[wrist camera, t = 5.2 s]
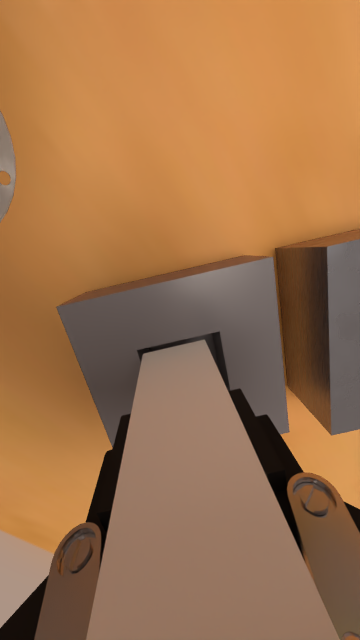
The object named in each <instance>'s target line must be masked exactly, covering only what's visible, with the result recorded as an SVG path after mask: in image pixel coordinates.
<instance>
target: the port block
mask: <svg viewBox="0 0 360 640" xmlns="http://www.w3.org/2000/svg"><path fill="white" fill-rule="evenodd" d="M276 259H277V270H278V281H279V293H280V304H281V315H282V326H283V338H284V349H285V360H286V371H287V383H288V387H289V388H290V390H291V391H292V392H293V393H294V394H295V395H296V396H297V397H298V399H299V400H300V401H301V402H302V403H303V404H304V405H305V406H306V408H307V409H308V410H309V411H310V412H311V413H312V414H313V415H314V417H315V418H316V419H317V420H318V421H319V422H320V423H321V424H322V425H323V427H324V428H325V429H326V430H327V431H328V432H329V433H330V434H331V435H336V434H340V433H345V432H349V431H354V430H358V429H360V229H357V230H352V231H348V232H344V233H339V234H335V235H331V236H326V237H322V238H318V239H314V240H309V241H305V242H301V243H296V244H292V245H288V246H283V247H279V248H276Z"/></svg>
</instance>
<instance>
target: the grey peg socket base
mask: <svg viewBox="0 0 360 640" xmlns="http://www.w3.org/2000/svg"><path fill="white" fill-rule="evenodd" d="M56 308H57V310H58V313H59V315H60V318H61V320H62V323H63V325H64V327H65V330H66V332H67V335H68V337H69V340H70V342H71V345H72V347H73V350H74V352H75V355H76V357H77V360H78V362H79V365H80V367H81V370H82V372H83V375H84V377H85V380H86V382H87V385H88V387H89V390H90V392H91V395H92V397H93V400H94V402H95V405H96V407H97V410H98V412H99V415H100V417H101V420H102V422H103V425H104V427H105V430H106V432H107V435H108V437H109V440H110V442H111V445H112V447H113V445H114V441H115V438H116V434H117V430H118V426H119V422H120V418H121V416H122V415H126V414H131V411H132V406H133V401H134V396H135V391H136V386H137V381H138V376H139V371H140V366H141V361H142V356H143V354H144V353H148V352H153V351H157V350H161V349H166V348H170V347H174V346H179V345H183V344H187V343H192V342H196V341H200V340H204V339H205V341H206V343H207V346H208V348H209V350H210V352H211V355H212V357H213V359H214V361H215V363H216V366H217V368H218V370H219V372H220V375H221V377H222V379H223V381H224V383H225V386H226V388H227V390H228V391H230V390H234V389H239V388H240V389H241V390H242V392H243V394H244V396H245V397H246V399H247V401H248V403H249V405H250V407H251V408H252V410H253V412H254V414H255V416H260V415H265V414H267V415H268V416H269V418H270V419H271V421H272V422H273V424H274V426H275V427H276V429H277V430H278V432H279V434H283V433H288V432H289V423H288V412H287V402H286V391H285V380H284V369H283V359H282V348H281V337H280V326H279V316H278V305H277V294H276V283H275V273H274V262H273V257H267V256H246V255H244V256H240V257H236V258H232V259H227V260H223V261H219V262H214V263H210V264H206V265H201V266H197V267H193V268H188V269H184V270H180V271H175V272H171V273H167V274H163V275H158V276H154V277H150V278H145V279H141V280H137V281H132V282H128V283H124V284H119V285H115V286H111V287H106V288H102V289H98V290H93V291H89V292H85V293H83V294H81V295H79V296H77V297H75V298H73V299H71V300H69V301H67V302H65V303H63V304H61V305H59V306H57V307H56Z"/></svg>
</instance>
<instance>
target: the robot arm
mask: <svg viewBox="0 0 360 640" xmlns="http://www.w3.org/2000/svg"><path fill="white" fill-rule="evenodd" d="M1 171H5V172H7V173H8V174H9V175H10V178H11V182H10V184H8V185H2V184H1V183H0V222H1V220H2V219H3V217H4V216H5V214H6V213H7V211H8V208H9V206H10V203H11V200H12V198H13V194H14V187H15V181H16V166H15V154H14V150H13V145H12V140H11V136H10V133H9V131H8V128H7V125H6V123H5V120H4V117H3V115H2V113H1V111H0V172H1ZM228 392H229V395H230V397H231V399H232V401H233V403H234V406H235V408H236V410H237V412H238V415H239V417H240V419H241V421H242V423H243V426H244V428H245V430H246V432H247V435H248V437H249V439H250V441H251V443H252V446H253V448H254V450H255V452H256V455H257V457H258V459H259V461H260V463H261V466H262V468H263V470H264V472H265V475H266V477H267V479H268V481H269V483H270V486H271V488H272V490H273V492H274V495H275V497H276V499H277V501H278V503H279V506H280V508H281V510H282V512H283V515H284V517H285V519H286V521H287V524H288V526H289V528H290V530H291V532H292V535H293V537H294V539H295V541H296V544H297V546H298V548H299V550H300V552H301V555H302V557H303V559H304V561H305V564H306V566H307V568H308V570H309V572H310V575H311V577H312V579H313V581H314V584H315V586H316V588H317V590H318V592H319V595H320V597H321V599H322V601H323V604H324V606H325V608H326V610H327V612H328V615H329V617H330V619H331V621H332V624H333V626H334V628H335V630H336V632H337V635H338V637H339V639H340V640H360V509H358V508H356V507H354V506H352V505H350V504H348V503H346V502H344V501H343V500H342V498H341V496H340V494H339V493H338V491H337V490H336V488H335V487H334V486H333V485H332V484H331V483H330V482H328V481H327V480H326V479H324V478H322V477H321V476H318V475H316V474H313V473H305V472H303V470H302V469H301V467H300V466H299V464H298V462H297V461H296V459H295V458H294V456H293V454H292V453H291V451H290V450H289V448H288V446H287V445H286V443H285V442H284V440H283V438H282V437H281V435H280V434H279V432H278V430H277V429H276V427H275V426H274V424H273V422H272V421H271V419H270V418H269V416H268V415H267V414H265V415H260V416H255V414H254V412H253V410H252V408H251V407H250V405H249V403H248V401H247V399H246V397H245V396H244V394H243V392H242V390H241V389H240V388H239V389H234V390H230V391H228ZM130 416H131V414H126V415H122V416H121V418H120V422H119V426H118V430H117V434H116V438H115V441H114V445H113V449H112V450H109V451H107V452H106V454H105V457H104V460H103V464H102V467H101V471H100V474H99V478H98V481H97V485H96V488H95V492H94V495H93V499H92V502H91V506H90V509H89V513H88V516H87V520H86V523H82V524H80V525H78V526H76V527H75V528H73V529H72V530H71V531H70V532H69V533H68V534H67V535H66V536H65V537H64V538H63V540H62V541H61V542H60V544H59V546H58V548H57V549H56V551H55V554H54V557H53V560H52V563H51V567H50V572H49V575H48V576H47V577H46V579H45V580H44V581H43V582H42V583H41V584H40V585H39V586H38V587H37V589H36V590H35V591H34V592H33V593H32V594H31V595H30V596H29V597H28V598H27V600H26V601H25V602H24V603H23V604H22V605H21V606H20V607H19V608H18V609H17V610H16V612H15V613H14V614H13V615H12V616H11V617H10V618H9V619H8V620H7V621H6V623H5V624H4V625H3V626H2V627H1V628H0V640H86V637H87V632H88V627H89V622H90V617H91V612H92V607H93V602H94V597H95V592H96V587H97V582H98V577H99V572H100V567H101V562H102V557H103V552H104V547H105V542H106V537H107V532H108V527H109V522H110V517H111V512H112V507H113V502H114V497H115V492H116V487H117V482H118V477H119V472H120V467H121V462H122V457H123V452H124V447H125V442H126V437H127V431H128V426H129V421H130Z"/></svg>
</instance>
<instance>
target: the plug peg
mask: <svg viewBox="0 0 360 640" xmlns="http://www.w3.org/2000/svg"><path fill="white" fill-rule="evenodd" d="M86 640H340V639H339V637H338V635H337V632H336V630H335V628H334V626H333V624H332V621H331V619H330V617H329V615H328V612H327V610H326V608H325V606H324V604H323V601H322V599H321V597H320V595H319V592H318V590H317V588H316V586H315V584H314V581H313V579H312V577H311V575H310V572H309V570H308V568H307V566H306V564H305V561H304V559H303V557H302V555H301V552H300V550H299V548H298V546H297V544H296V541H295V539H294V537H293V535H292V532H291V530H290V528H289V526H288V524H287V521H286V519H285V517H284V515H283V512H282V510H281V508H280V506H279V503H278V501H277V499H276V497H275V495H274V492H273V490H272V488H271V486H270V483H269V481H268V479H267V477H266V475H265V472H264V470H263V468H262V466H261V463H260V461H259V459H258V457H257V455H256V452H255V450H254V448H253V446H252V443H251V441H250V439H249V437H248V435H247V432H246V430H245V428H244V426H243V423H242V421H241V419H240V417H239V415H238V412H237V410H236V408H235V406H234V403H233V401H232V399H231V397H230V395H229V392H228V390H227V388H226V386H225V383H224V381H223V379H222V377H221V375H220V372H219V370H218V368H217V366H216V363H215V361H214V359H213V357H212V355H211V352H210V350H209V348H208V346H207V343H206V341H205V339H204V340H200V341H196V342H192V343H187V344H183V345H179V346H174V347H170V348H166V349H161V350H157V351H153V352H148V353H144V354H143V356H142V361H141V366H140V371H139V376H138V381H137V386H136V391H135V396H134V401H133V406H132V411H131V416H130V421H129V426H128V431H127V437H126V442H125V447H124V452H123V457H122V462H121V467H120V472H119V477H118V482H117V487H116V492H115V497H114V502H113V507H112V512H111V517H110V522H109V527H108V532H107V537H106V542H105V547H104V552H103V557H102V562H101V567H100V572H99V577H98V582H97V587H96V592H95V597H94V602H93V607H92V612H91V617H90V622H89V627H88V632H87V637H86Z"/></svg>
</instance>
